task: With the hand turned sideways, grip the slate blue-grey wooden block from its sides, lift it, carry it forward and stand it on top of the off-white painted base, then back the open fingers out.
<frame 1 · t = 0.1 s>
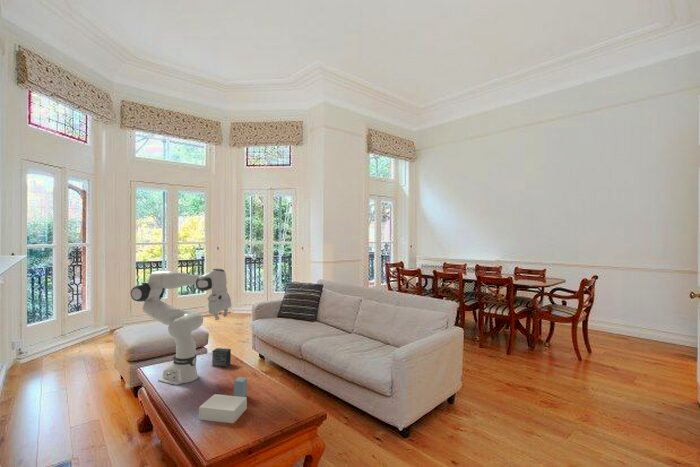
hand: (221, 318, 213), 39 cm above the table, tool pointing down, fingers open, 8 cm apart
small box: (221, 365, 240), on the table
slate block: (240, 397, 194), on the table
base: (223, 414, 176), on the table
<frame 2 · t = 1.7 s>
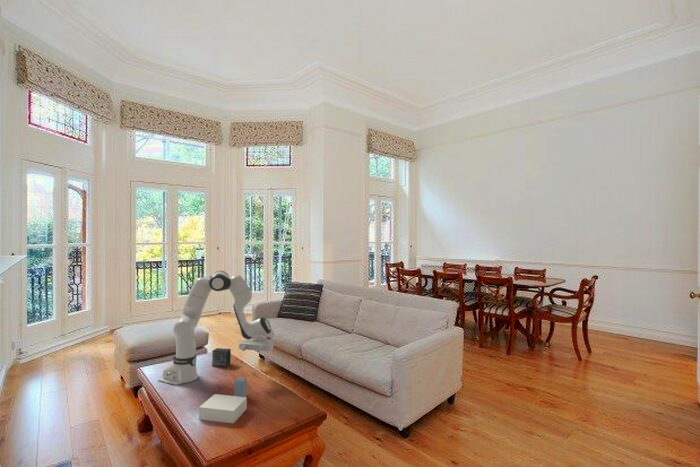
hand: (250, 350, 206), 22 cm above the table, tool horizontal, fingers open, 8 cm apart
nothing on the table moved.
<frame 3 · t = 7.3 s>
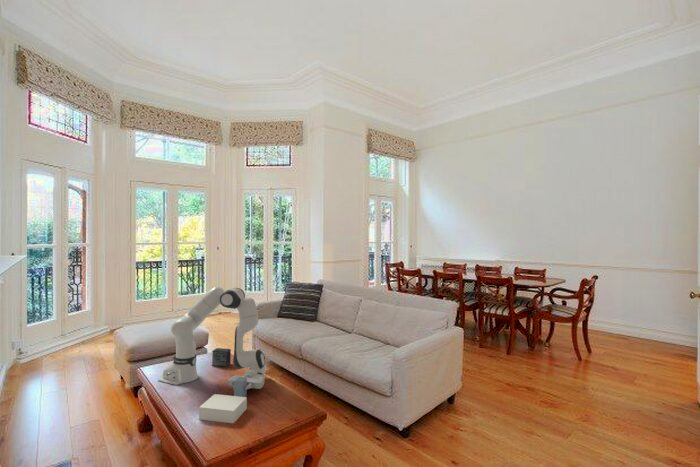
hand: (239, 388, 193), 6 cm above the table, tool horizontal, fingers closed on slate block, 5 cm apart
slate block: (240, 397, 194), on the table, touching gripper
everything else where it was.
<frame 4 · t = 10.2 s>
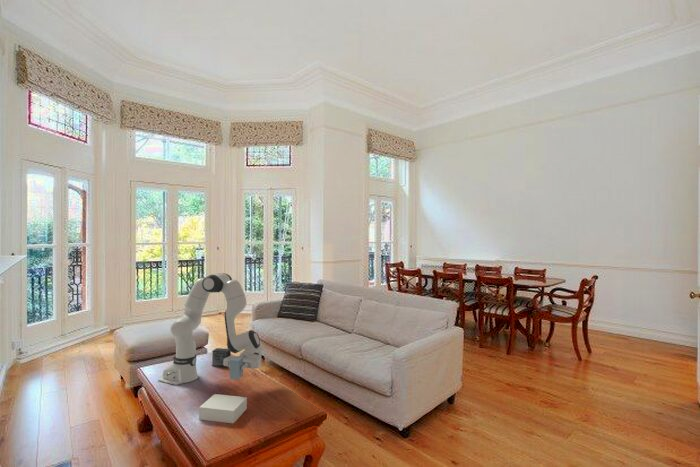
hand: (235, 367, 187), 19 cm above the table, tool horizontal, fingers closed on slate block, 5 cm apart
slate block: (236, 377, 188), point 13 cm above the table, touching gripper
everything else where it was.
when the fingers open (13 cm above the table, at t = 13.1 s): slate block drops 1 cm, resting on base.
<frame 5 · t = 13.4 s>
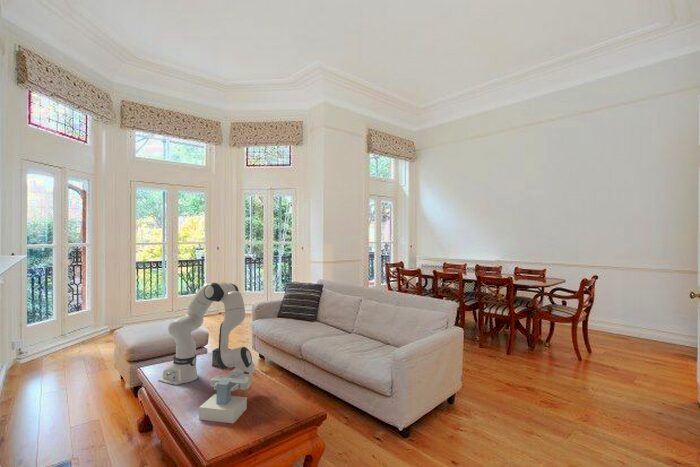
hand: (223, 389, 175), 13 cm above the table, tool horizontal, fingers open, 7 cm apart
slate block: (223, 402, 176), point 6 cm above the table, touching base
everything else where it was.
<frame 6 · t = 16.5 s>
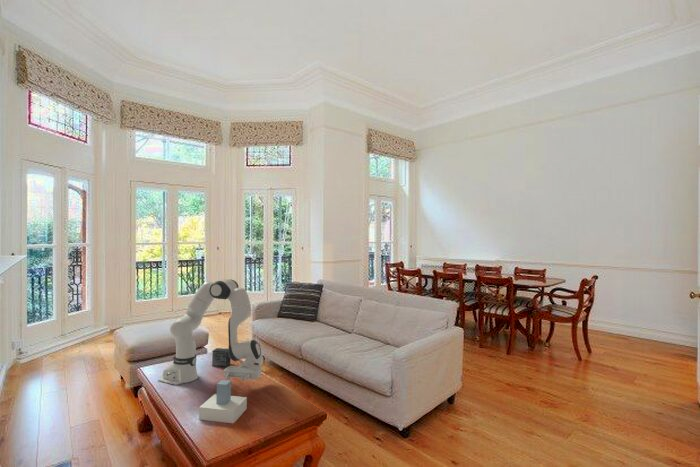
hand: (235, 378, 188), 13 cm above the table, tool horizontal, fingers open, 8 cm apart
nothing on the table moved.
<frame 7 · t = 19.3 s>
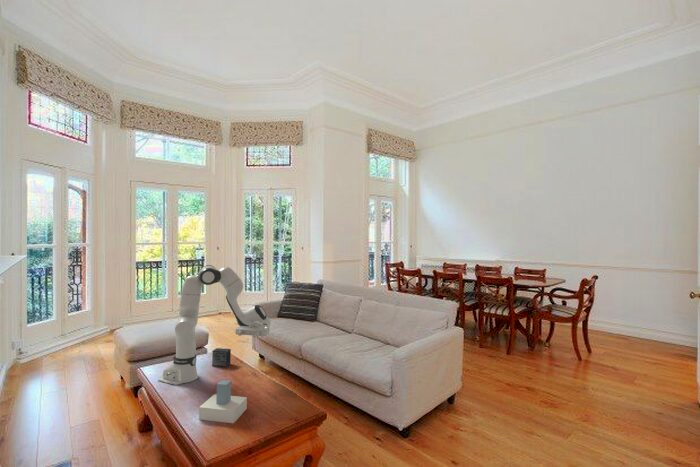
hand: (246, 334, 209), 30 cm above the table, tool horizontal, fingers open, 8 cm apart
nothing on the table moved.
at the end: slate block inside the target area on the base (0.0 cm from its centre), point 6.0 cm above the base's base; slate block tilted 0°; the gripper is holding nothing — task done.
